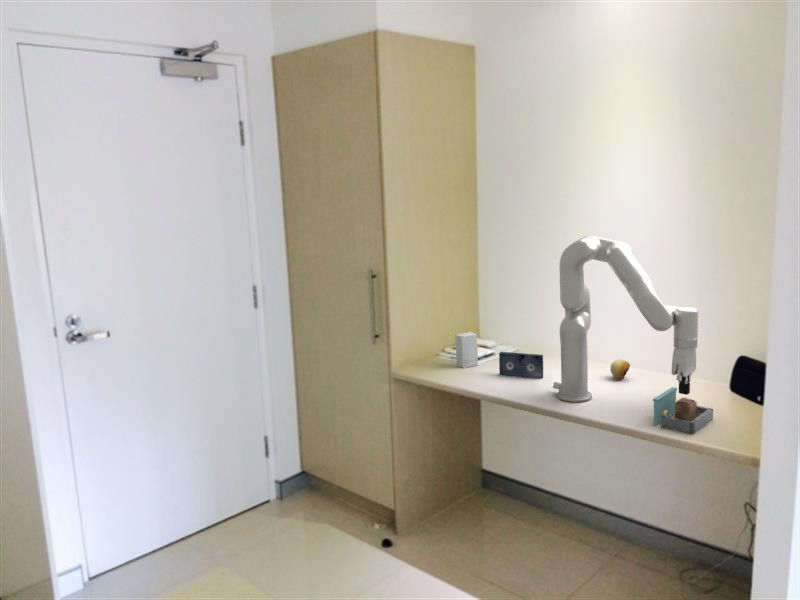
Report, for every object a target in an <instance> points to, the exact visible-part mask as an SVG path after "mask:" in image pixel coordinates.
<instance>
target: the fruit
mask: <svg viewBox="0 0 800 600" xmlns="http://www.w3.org/2000/svg"><path fill="white" fill-rule="evenodd" d="M630 367H631V364H630V363H629V362H628V361H626V360H625V359H624V360H623V359H616V360H614V361H613V362H612V363H611V365H610V368H609V369H610V373H611V374H612V377H614V378H615V379H618V380H623V379H624V378H625V377H626V375H627V372H628V371H629V369H630Z"/></svg>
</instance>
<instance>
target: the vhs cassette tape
mask: <svg viewBox="0 0 800 600" xmlns="http://www.w3.org/2000/svg"><path fill="white" fill-rule="evenodd" d="M498 355H499V356H498V357H499V358H498V359H499V360H498V361H499V362H498V365H499V372H498V373H499V376H500V375H502V376H501V377H513V378H526V379H538V380H542V379H543V378H544V355H543V354H533V353H523V352H507V351H499V353H498Z"/></svg>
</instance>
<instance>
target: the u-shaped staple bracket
mask: <svg viewBox="0 0 800 600" xmlns="http://www.w3.org/2000/svg"><path fill="white" fill-rule="evenodd" d="M667 413H668V411H667V410H663V416H661V423H660V428H661V427H662V428H666V429H669V430H675V431H678V432H683V433H687V434H692V435H694V434H695V433H696V432H698V431H700V429H702V428H704V426H705V425H707V424H709V423H710V422H711V421H712V420H713V419H714V408H709V407H705V406H701V405H697V411H696V418H695V419H694V420H692V421H686V420H682V419H677V418H675V417H672V416H670V417H668V416H667Z"/></svg>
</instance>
